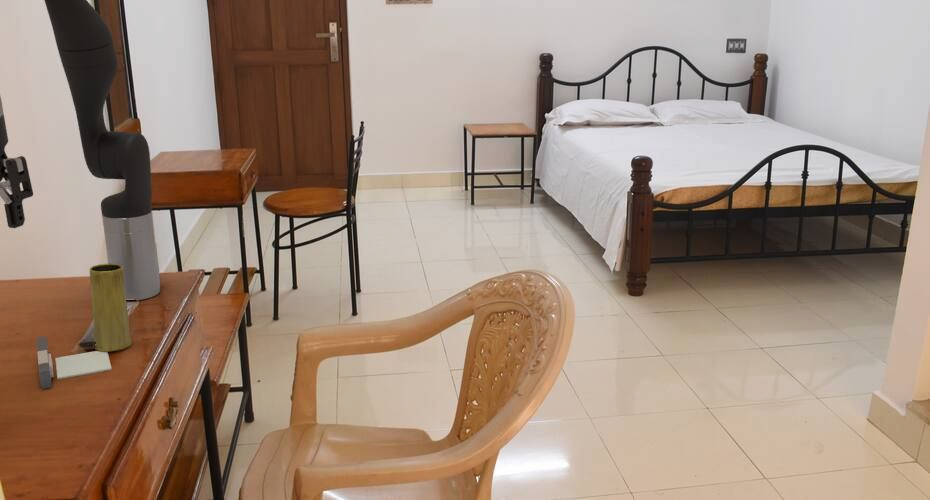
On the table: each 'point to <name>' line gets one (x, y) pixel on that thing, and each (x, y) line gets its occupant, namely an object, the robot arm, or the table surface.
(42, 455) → the table surface
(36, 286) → the table surface
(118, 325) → the vase
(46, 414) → the table surface
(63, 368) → the pad
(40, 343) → the price rail
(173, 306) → the table surface
